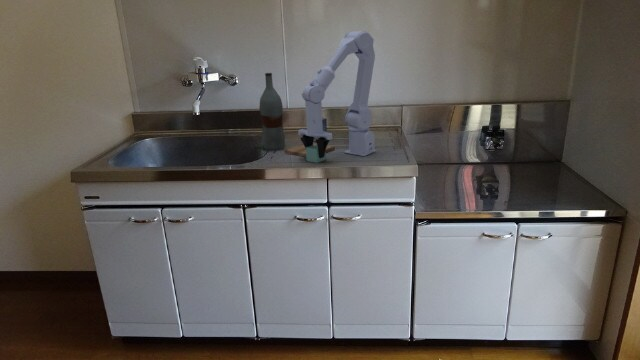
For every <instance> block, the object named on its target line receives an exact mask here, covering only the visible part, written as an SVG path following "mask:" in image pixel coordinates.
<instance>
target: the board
mask: <svg viewBox="0 0 640 360" xmlns="http://www.w3.org/2000/svg"><path fill="white" fill-rule="evenodd" d="M313 145H317V143H315V142H313ZM335 147H336V146H332V145H327V147H326V151H325V154H327V153H331V152H333V151H335V149H336V148H335ZM284 154H287V155H288V154H289V155H293V156H298V157H304V158H306V149H305V146H304V144H303V143H302V144H299V145H296V146H293V147H289V148H287V149H285V150H284Z"/></svg>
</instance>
